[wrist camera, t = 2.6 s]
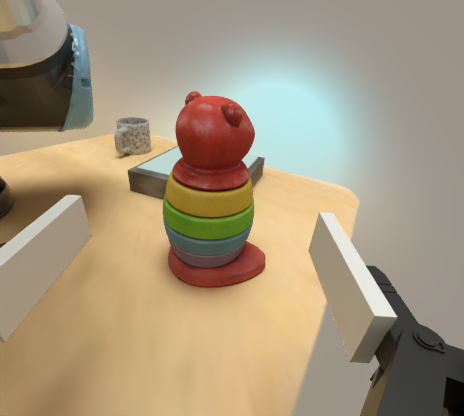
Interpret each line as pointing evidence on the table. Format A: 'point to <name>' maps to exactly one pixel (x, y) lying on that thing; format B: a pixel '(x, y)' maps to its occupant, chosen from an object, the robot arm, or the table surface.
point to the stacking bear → (211, 195)
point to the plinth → (158, 169)
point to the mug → (132, 136)
